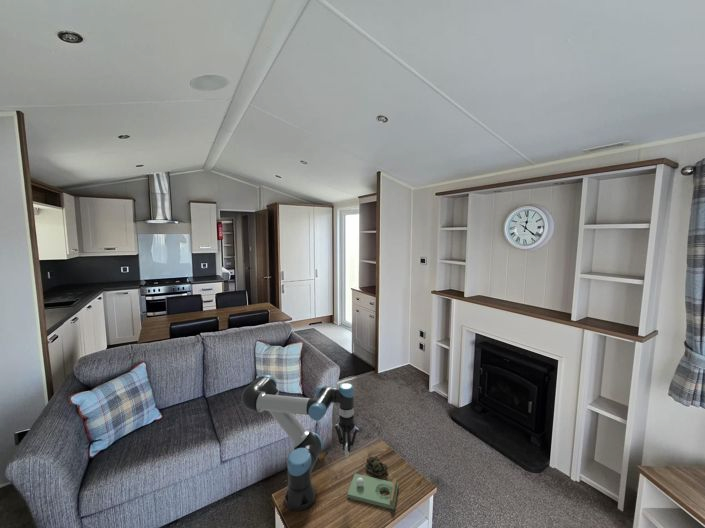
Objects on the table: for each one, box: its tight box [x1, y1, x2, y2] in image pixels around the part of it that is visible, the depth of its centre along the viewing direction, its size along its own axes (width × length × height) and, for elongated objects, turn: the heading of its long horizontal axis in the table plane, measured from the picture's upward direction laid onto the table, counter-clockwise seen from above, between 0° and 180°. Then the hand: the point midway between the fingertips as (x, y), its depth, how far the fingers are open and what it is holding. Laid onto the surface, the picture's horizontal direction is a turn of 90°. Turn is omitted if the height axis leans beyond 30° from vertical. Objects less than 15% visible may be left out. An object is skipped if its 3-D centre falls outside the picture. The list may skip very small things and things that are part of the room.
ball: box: [356, 477, 364, 487], centre depth 165 cm, size 4×4×4 cm
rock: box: [365, 455, 388, 477], centre depth 177 cm, size 13×10×10 cm
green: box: [346, 473, 399, 510], centre depth 163 cm, size 24×14×4 cm, turn 74°
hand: (346, 455), depth 165 cm, fingers closed
